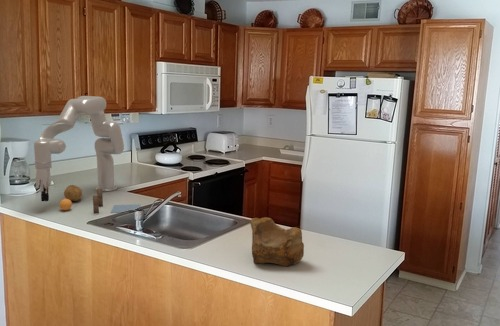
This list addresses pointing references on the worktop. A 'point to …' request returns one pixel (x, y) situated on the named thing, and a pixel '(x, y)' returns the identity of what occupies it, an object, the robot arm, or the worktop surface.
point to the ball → (65, 204)
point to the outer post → (95, 204)
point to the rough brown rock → (275, 243)
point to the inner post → (100, 197)
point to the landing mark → (124, 208)
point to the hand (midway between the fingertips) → (45, 200)
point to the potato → (73, 193)
